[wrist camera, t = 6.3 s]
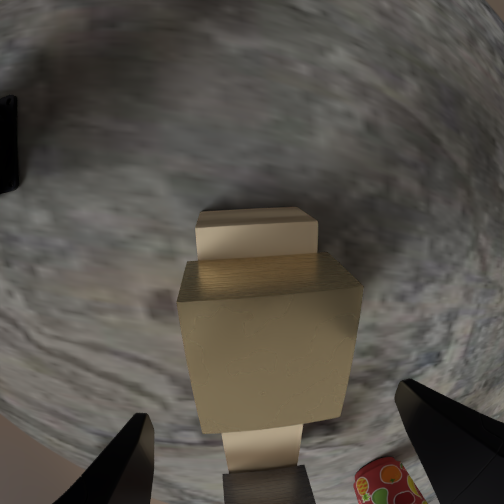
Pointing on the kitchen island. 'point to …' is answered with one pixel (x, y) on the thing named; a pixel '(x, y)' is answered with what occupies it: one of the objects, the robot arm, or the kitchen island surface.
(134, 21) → the kitchen island surface
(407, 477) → the smoothie
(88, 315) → the kitchen island surface
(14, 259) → the kitchen island surface
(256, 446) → the body
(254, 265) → the tan rectangular block
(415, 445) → the robot arm
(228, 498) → the dark grey block
